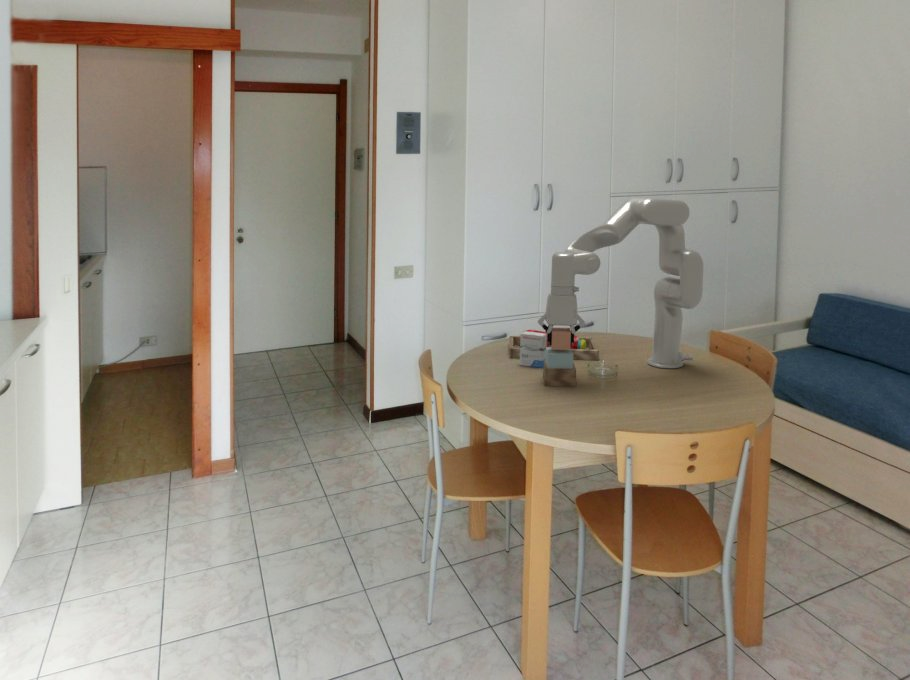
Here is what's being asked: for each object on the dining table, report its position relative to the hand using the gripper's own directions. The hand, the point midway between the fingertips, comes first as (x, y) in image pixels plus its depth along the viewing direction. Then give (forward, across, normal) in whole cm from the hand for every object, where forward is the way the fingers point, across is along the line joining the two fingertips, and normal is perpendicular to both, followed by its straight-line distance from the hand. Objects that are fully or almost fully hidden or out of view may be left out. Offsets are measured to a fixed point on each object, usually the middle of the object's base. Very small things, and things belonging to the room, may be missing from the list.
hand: (560, 343), depth 235 cm
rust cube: (+1, 0, 0) cm, 1 cm away
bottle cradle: (+13, 0, -37) cm, 39 cm away
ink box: (+13, +8, -19) cm, 24 cm away
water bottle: (+13, -1, -39) cm, 42 cm away
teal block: (+7, 0, 0) cm, 7 cm away
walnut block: (+13, 0, 0) cm, 13 cm away
